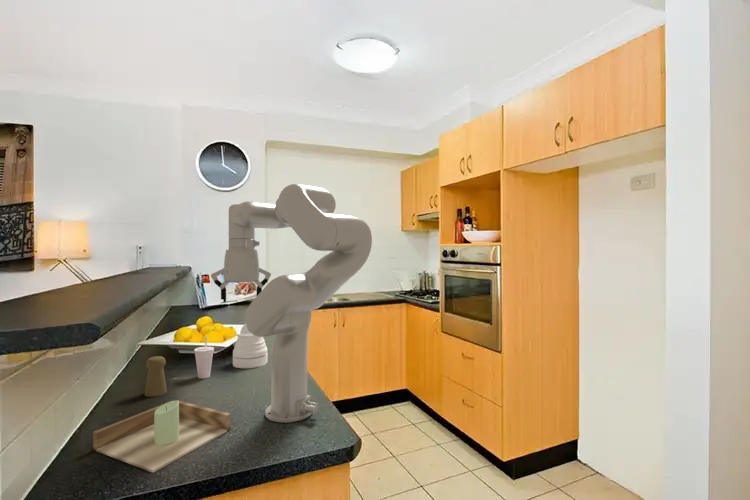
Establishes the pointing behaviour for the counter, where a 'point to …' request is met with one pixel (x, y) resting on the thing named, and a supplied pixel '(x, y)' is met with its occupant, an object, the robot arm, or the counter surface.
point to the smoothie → (204, 360)
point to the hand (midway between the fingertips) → (241, 301)
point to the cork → (155, 377)
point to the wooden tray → (137, 436)
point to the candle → (166, 423)
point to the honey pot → (249, 350)
